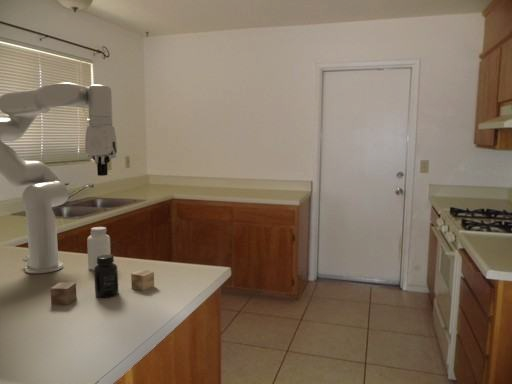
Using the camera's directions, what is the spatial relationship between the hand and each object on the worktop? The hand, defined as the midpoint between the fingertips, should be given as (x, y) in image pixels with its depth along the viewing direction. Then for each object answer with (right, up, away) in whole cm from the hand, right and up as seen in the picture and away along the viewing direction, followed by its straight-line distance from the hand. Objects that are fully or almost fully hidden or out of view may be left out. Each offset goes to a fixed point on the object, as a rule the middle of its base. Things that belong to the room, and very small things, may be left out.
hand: (102, 175), depth 145 cm
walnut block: (-3, -38, -23) cm, 45 cm away
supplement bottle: (+8, -38, -17) cm, 42 cm away
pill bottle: (-5, -34, +10) cm, 36 cm away
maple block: (+17, -37, -10) cm, 42 cm away
